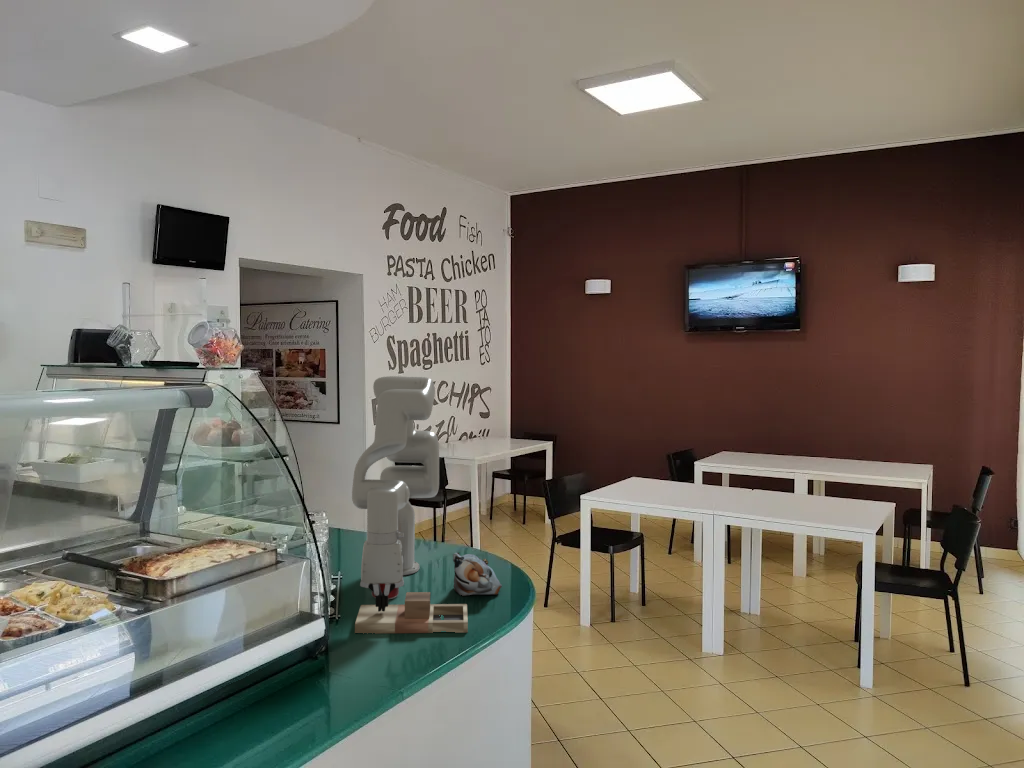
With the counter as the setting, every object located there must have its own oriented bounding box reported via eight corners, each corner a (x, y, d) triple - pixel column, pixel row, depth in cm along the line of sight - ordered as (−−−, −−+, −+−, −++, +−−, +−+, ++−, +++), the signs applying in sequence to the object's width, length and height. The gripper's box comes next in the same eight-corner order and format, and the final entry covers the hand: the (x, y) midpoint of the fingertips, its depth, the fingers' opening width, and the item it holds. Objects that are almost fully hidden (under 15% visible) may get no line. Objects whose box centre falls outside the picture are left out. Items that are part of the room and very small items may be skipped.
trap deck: (361, 614, 193) (361, 604, 193) (466, 613, 195) (466, 603, 195) (354, 633, 181) (354, 623, 181) (467, 632, 183) (467, 622, 183)
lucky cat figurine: (510, 592, 211) (506, 556, 204) (478, 617, 205) (472, 581, 197) (476, 564, 221) (471, 529, 213) (444, 587, 215) (437, 553, 207)
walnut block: (406, 609, 190) (406, 592, 190) (430, 609, 191) (430, 592, 191) (404, 619, 184) (404, 601, 184) (429, 618, 185) (429, 600, 185)
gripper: (413, 532, 190) (413, 603, 192) (353, 532, 189) (353, 604, 191) (412, 541, 183) (411, 615, 184) (349, 541, 182) (349, 615, 183)
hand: (381, 609), depth 187 cm, fingers closed
